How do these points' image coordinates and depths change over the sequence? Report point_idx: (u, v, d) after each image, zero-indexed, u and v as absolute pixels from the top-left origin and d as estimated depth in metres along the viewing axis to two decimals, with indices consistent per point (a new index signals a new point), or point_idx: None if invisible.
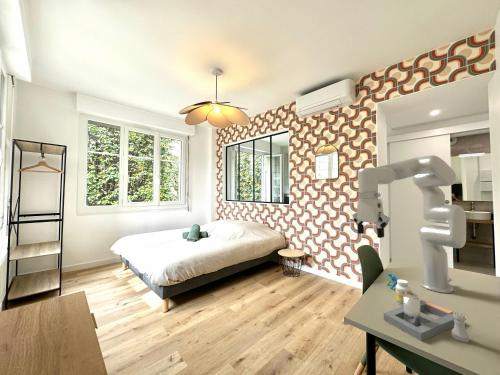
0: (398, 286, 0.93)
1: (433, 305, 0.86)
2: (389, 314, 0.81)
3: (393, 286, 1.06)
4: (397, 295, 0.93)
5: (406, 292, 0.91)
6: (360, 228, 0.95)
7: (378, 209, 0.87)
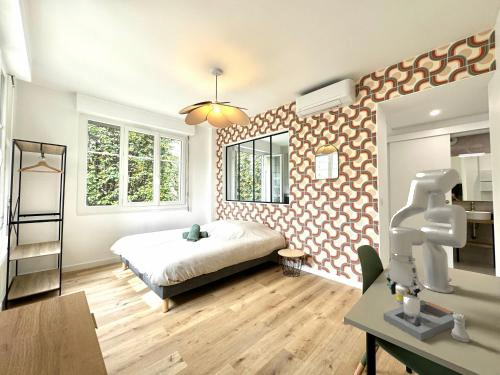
0: (398, 286, 0.93)
1: (433, 305, 0.86)
2: (389, 314, 0.81)
3: None
4: (397, 295, 0.93)
5: (406, 292, 0.91)
6: (394, 289, 0.96)
7: (413, 274, 0.88)
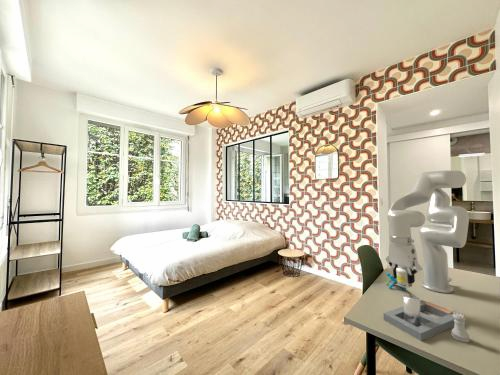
0: (399, 268, 0.94)
1: (433, 305, 0.86)
2: (389, 314, 0.81)
3: (392, 286, 1.07)
4: (398, 277, 0.94)
5: (407, 274, 0.91)
6: (396, 273, 0.96)
7: (412, 255, 0.89)
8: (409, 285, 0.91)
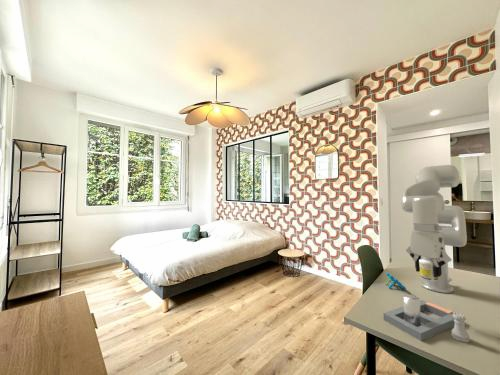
0: (422, 260, 0.83)
1: (433, 305, 0.86)
2: (389, 314, 0.81)
3: (391, 286, 1.07)
4: (421, 270, 0.83)
5: (432, 266, 0.80)
6: None
7: (440, 244, 0.78)
8: (435, 279, 0.80)
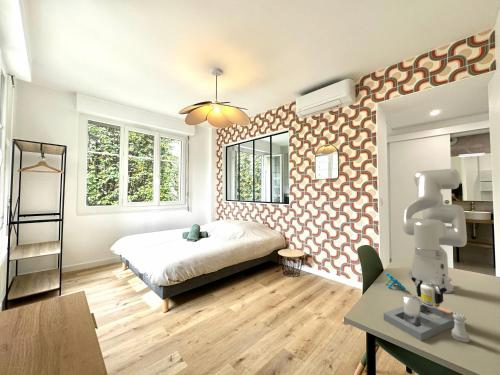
0: (424, 285, 0.82)
1: None
2: (389, 314, 0.81)
3: (391, 286, 1.07)
4: (423, 295, 0.82)
5: (434, 293, 0.80)
6: (420, 290, 0.85)
7: (441, 271, 0.78)
8: (436, 305, 0.80)
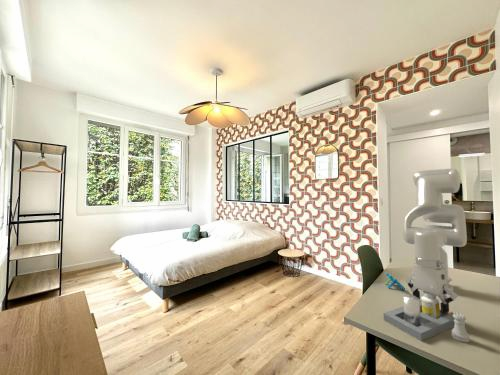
0: (425, 298, 0.82)
1: None
2: (389, 314, 0.81)
3: (390, 286, 1.07)
4: (423, 308, 0.83)
5: (435, 305, 0.80)
6: (416, 296, 0.86)
7: (442, 281, 0.78)
8: (437, 318, 0.80)
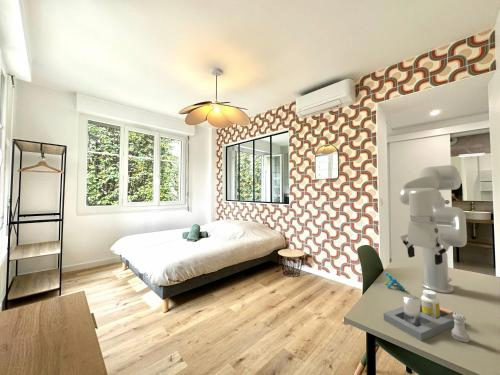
0: (425, 298, 0.83)
1: None
2: (389, 314, 0.81)
3: (390, 285, 1.07)
4: (423, 308, 0.83)
5: (435, 305, 0.80)
6: (411, 251, 0.91)
7: (435, 234, 0.82)
8: (437, 318, 0.80)
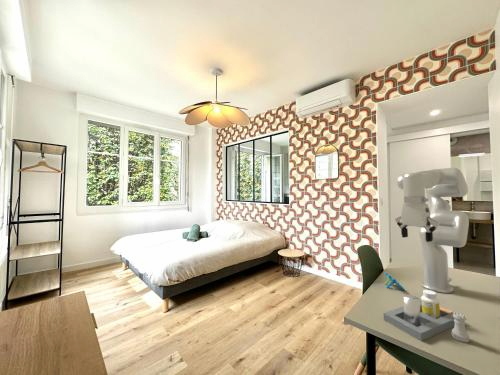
0: (425, 298, 0.83)
1: None
2: (389, 314, 0.81)
3: (389, 285, 1.07)
4: (423, 308, 0.83)
5: (435, 305, 0.80)
6: (404, 232, 0.97)
7: (426, 214, 0.89)
8: (437, 318, 0.80)
